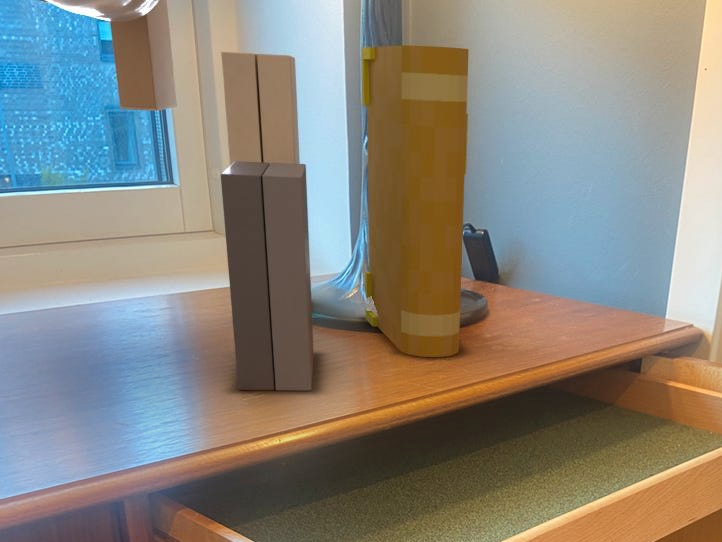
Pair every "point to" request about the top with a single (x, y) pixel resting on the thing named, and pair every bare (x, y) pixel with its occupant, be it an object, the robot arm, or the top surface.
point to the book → (416, 193)
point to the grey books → (269, 274)
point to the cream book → (144, 61)
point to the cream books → (261, 107)
